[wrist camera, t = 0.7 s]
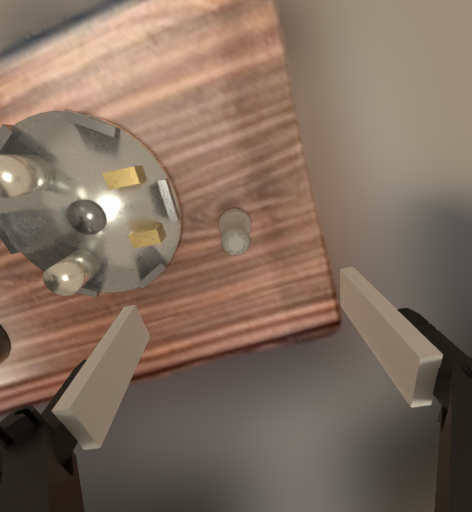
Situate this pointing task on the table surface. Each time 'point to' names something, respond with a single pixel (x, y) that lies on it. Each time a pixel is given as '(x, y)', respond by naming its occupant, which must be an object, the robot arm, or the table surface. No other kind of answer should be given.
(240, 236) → the rook chess piece
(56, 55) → the table surface
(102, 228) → the carrier plate
